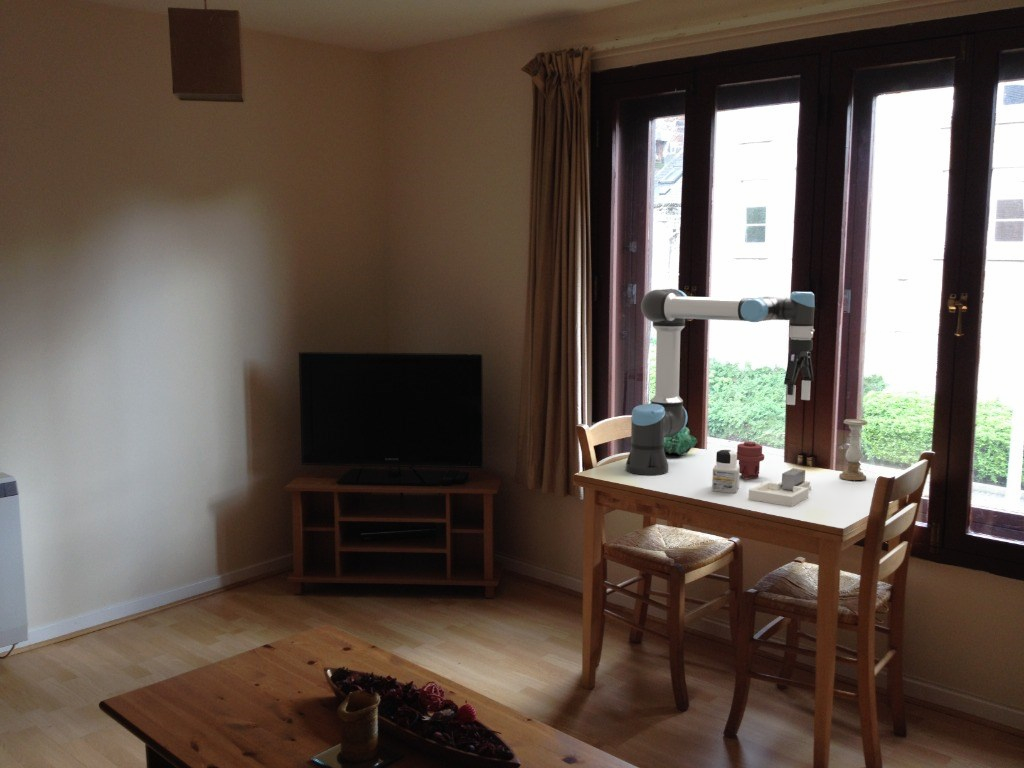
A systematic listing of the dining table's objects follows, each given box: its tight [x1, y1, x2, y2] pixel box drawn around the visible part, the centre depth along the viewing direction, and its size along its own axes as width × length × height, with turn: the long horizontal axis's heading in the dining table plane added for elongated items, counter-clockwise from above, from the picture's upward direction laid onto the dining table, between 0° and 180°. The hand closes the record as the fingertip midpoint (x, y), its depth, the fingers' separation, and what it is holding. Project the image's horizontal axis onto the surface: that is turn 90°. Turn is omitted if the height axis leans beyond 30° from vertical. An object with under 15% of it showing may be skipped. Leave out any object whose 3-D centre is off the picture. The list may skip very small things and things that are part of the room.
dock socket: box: [748, 480, 812, 507], centre depth 285 cm, size 14×25×3 cm, turn 142°
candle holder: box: [839, 418, 868, 482], centre depth 306 cm, size 9×9×20 cm
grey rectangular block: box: [781, 467, 806, 490], centre depth 290 cm, size 4×10×5 cm, turn 142°
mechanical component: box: [736, 441, 765, 480], centre depth 308 cm, size 12×10×10 cm
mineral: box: [664, 426, 698, 457], centre depth 347 cm, size 18×16×10 cm
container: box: [711, 449, 740, 494], centre depth 291 cm, size 8×8×13 cm
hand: (798, 402), depth 296 cm, fingers open, 13 cm apart
